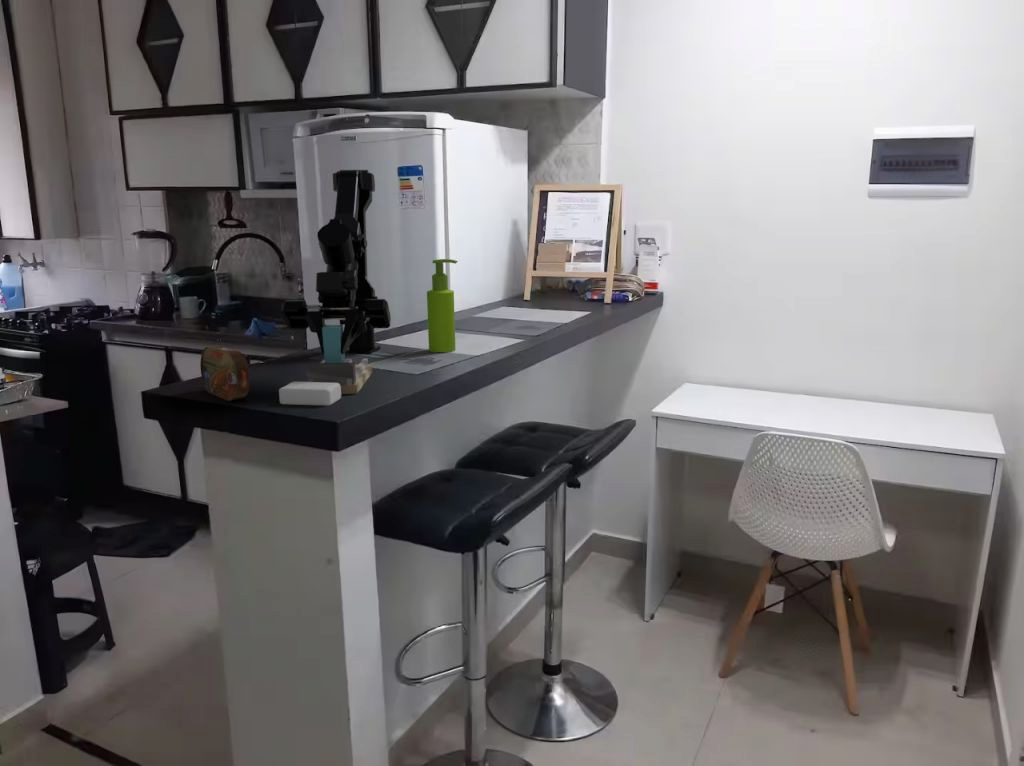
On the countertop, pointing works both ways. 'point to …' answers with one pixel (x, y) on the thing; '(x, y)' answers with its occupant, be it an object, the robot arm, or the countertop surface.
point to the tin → (225, 373)
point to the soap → (310, 393)
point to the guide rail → (340, 374)
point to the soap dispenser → (441, 311)
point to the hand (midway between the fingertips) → (332, 353)
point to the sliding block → (333, 344)
